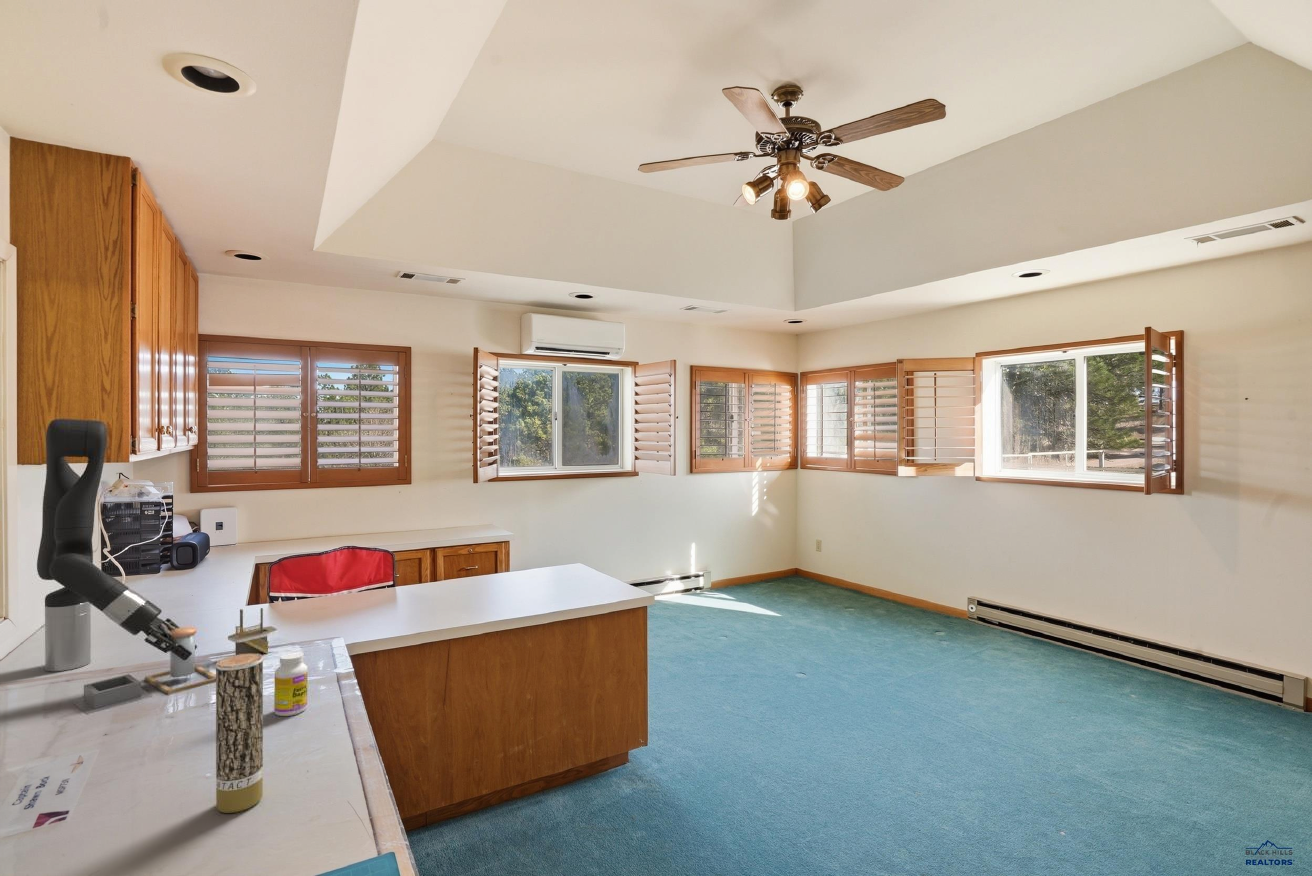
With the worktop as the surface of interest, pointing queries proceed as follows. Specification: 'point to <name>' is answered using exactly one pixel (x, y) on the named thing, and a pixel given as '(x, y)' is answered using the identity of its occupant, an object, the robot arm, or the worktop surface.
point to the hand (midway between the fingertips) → (191, 653)
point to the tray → (169, 691)
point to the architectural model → (251, 637)
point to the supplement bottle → (290, 685)
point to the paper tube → (239, 732)
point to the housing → (110, 694)
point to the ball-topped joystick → (187, 640)
